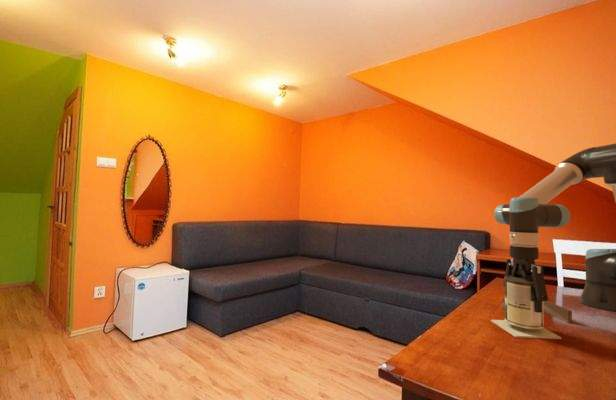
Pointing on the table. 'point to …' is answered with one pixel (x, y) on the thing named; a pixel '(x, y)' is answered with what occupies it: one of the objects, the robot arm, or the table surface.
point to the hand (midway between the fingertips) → (523, 316)
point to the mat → (525, 331)
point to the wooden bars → (553, 311)
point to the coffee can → (520, 303)
